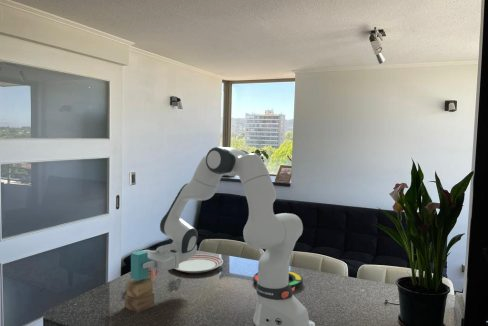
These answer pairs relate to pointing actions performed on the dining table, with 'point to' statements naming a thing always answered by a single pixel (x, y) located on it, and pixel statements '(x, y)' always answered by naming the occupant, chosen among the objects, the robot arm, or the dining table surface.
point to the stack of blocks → (152, 273)
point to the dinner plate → (200, 263)
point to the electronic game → (293, 276)
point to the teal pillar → (139, 265)
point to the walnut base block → (139, 303)
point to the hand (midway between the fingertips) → (137, 264)
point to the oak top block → (139, 288)
